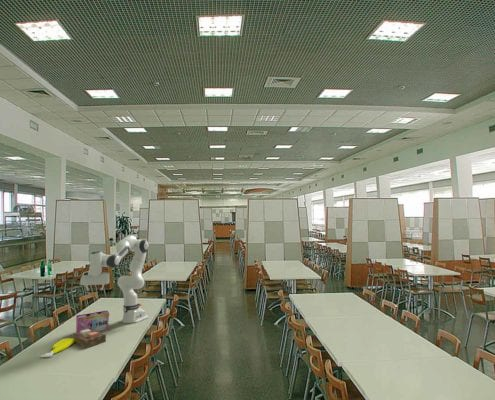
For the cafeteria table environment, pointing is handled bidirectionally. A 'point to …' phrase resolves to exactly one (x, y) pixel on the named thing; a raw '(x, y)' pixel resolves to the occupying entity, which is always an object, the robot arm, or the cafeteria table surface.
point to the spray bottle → (60, 346)
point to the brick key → (92, 334)
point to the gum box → (92, 321)
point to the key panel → (89, 339)
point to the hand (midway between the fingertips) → (94, 290)
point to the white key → (85, 332)
